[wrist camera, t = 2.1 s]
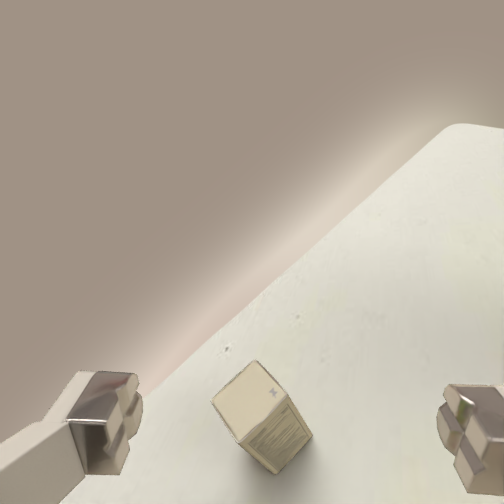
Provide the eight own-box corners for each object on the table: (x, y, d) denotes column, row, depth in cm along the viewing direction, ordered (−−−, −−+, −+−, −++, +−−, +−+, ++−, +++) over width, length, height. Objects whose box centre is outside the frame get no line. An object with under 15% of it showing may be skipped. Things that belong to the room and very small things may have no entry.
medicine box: (284, 401, 35) (257, 355, 28) (314, 436, 32) (292, 393, 25) (245, 438, 33) (207, 399, 27) (273, 478, 30) (238, 445, 24)
